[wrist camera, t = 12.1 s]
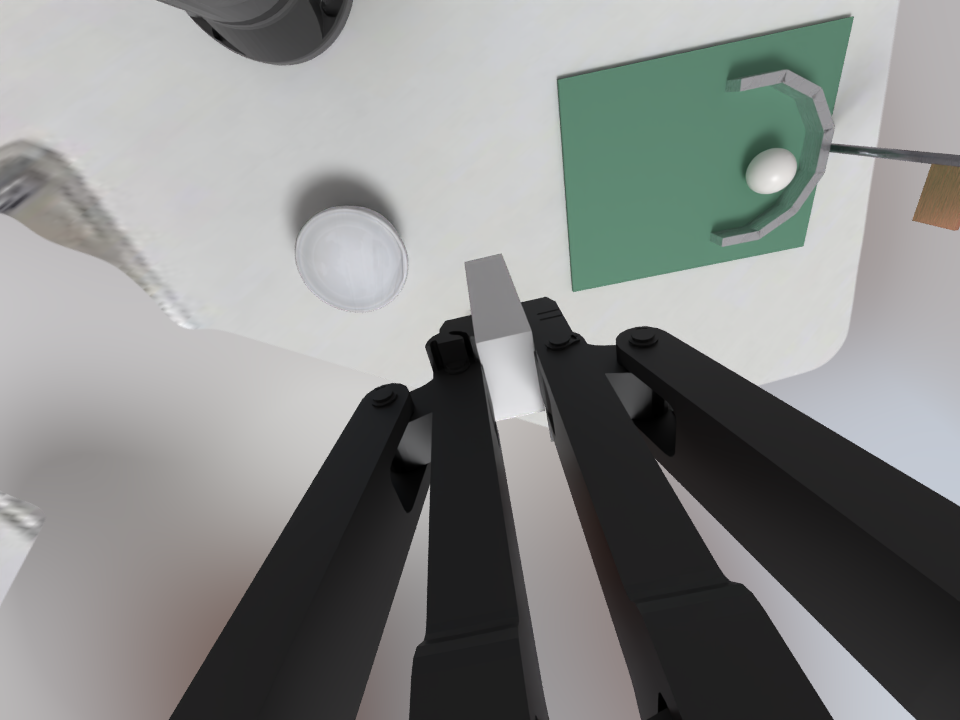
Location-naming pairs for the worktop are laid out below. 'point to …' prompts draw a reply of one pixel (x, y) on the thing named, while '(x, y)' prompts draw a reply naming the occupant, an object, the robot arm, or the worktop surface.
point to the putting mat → (684, 153)
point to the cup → (948, 188)
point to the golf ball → (771, 171)
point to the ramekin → (352, 258)
